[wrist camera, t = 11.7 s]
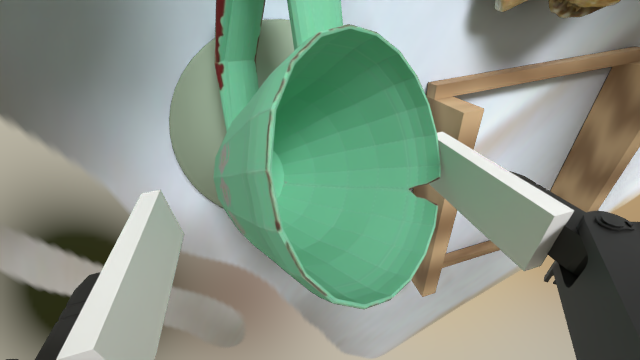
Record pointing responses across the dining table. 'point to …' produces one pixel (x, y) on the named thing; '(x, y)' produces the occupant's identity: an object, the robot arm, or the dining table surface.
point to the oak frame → (582, 162)
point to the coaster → (215, 104)
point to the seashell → (562, 6)
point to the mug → (326, 152)
